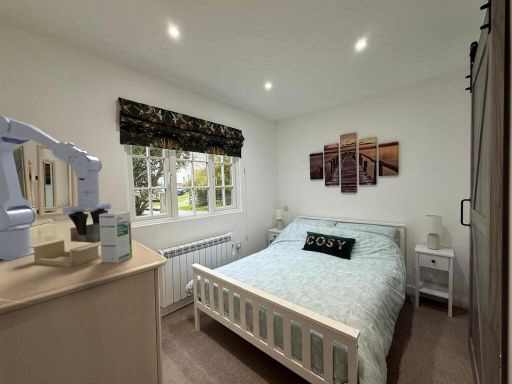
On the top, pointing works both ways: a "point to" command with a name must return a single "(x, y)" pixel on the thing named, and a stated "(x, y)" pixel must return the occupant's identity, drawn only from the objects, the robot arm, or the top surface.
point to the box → (87, 234)
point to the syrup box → (115, 236)
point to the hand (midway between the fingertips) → (90, 233)
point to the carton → (63, 253)
